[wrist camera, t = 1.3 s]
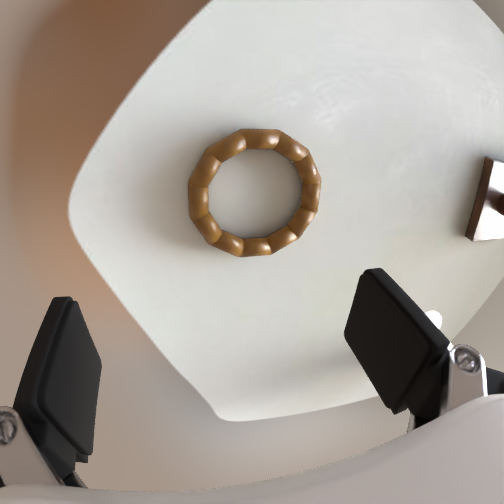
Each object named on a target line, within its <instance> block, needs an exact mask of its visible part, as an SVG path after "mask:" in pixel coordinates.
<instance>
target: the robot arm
mask: <svg viewBox="0 0 504 504" xmlns="http://www.w3.org/2000/svg"><path fill="white" fill-rule="evenodd" d="M344 337H345V340H346V341H347V343H348V345H349V346H350V348H351V349H352V351H353V353H354V354H355V356H356V358H357V359H358V361H359V363H360V364H361V366H362V367H363V369H364V371H365V372H366V374H367V376H368V377H369V379H370V381H371V382H372V384H373V386H374V387H375V389H376V391H377V392H378V394H379V396H380V397H381V399H382V401H383V402H384V404H385V406H386V407H387V408H389V409H391V410H392V412H393V413H394V415H395V414H397V413H400V412H402V411H404V410H406V409H407V408H408V409H409V410H410V418H409V423H408V428H407V433H406V434H404V435H402V436H400V437H398V438H395V439H393V440H391V441H389V442H386V443H384V444H382V445H379V446H377V447H374V448H372V449H369V450H367V451H364V452H362V453H359V454H357V455H354V456H351V457H348V458H345V459H342V460H339V461H336V462H333V463H330V464H327V465H324V466H320V467H317V468H314V469H310V470H307V471H303V472H299V473H295V474H291V475H287V476H283V477H279V478H274V479H269V480H264V481H259V482H253V483H247V484H241V485H235V486H227V487H220V488H211V489H200V490H188V491H164V492H137V491H111V490H97V489H88V488H87V486H86V485H85V484H84V483H83V481H82V480H81V479H80V477H79V476H78V475H77V473H76V472H75V462H83V463H88V455H91V454H92V452H93V439H94V425H95V415H96V405H97V398H98V390H99V389H98V388H99V382H100V375H101V368H102V364H101V359H100V357H99V354H98V352H97V350H96V348H95V345H94V343H93V340H92V338H91V336H90V333H89V331H88V328H87V326H86V323H85V321H84V318H83V315H82V313H81V310H80V308H79V304H78V302H77V301H73V300H72V298H71V297H55V298H53V300H52V302H51V304H50V306H49V308H48V311H47V313H46V315H45V317H44V320H43V322H42V325H41V327H40V329H39V332H38V334H37V337H36V339H35V342H34V344H33V347H32V349H31V352H30V355H29V357H28V360H27V363H26V366H25V369H24V372H23V375H22V378H21V381H20V384H19V387H18V390H17V394H16V397H15V401H14V404H13V408H11V407H8V406H0V504H504V373H503V372H500V371H497V370H493V369H490V368H487V367H485V366H484V361H483V358H482V357H481V355H480V353H478V351H477V350H475V349H474V348H472V347H471V346H468V345H464V344H458V345H455V346H454V347H452V349H451V350H450V351H449V350H448V349H447V347H448V346H449V344H450V341H449V340H448V339H447V338H446V337H445V336H444V334H443V333H442V332H441V331H440V330H439V329H438V328H437V326H436V325H435V324H434V323H433V322H432V321H431V320H430V319H429V318H428V316H427V315H426V314H425V313H424V312H423V311H422V310H421V309H420V308H419V307H418V305H417V304H416V303H415V302H414V301H413V300H412V299H411V298H410V297H409V296H408V295H407V294H406V293H405V292H404V291H403V290H402V288H401V287H400V286H399V285H398V284H397V283H396V282H395V281H394V280H393V279H392V278H391V277H390V276H389V275H388V274H387V273H386V272H385V271H384V270H383V269H381V268H375V269H367V270H365V271H364V273H363V274H362V275H361V276H360V278H359V282H358V285H357V289H356V293H355V296H354V300H353V303H352V307H351V310H350V314H349V317H348V320H347V324H346V327H345V330H344Z"/></svg>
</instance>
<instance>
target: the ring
mask: <svg viewBox="0 0 504 504" xmlns="http://www.w3.org/2000/svg"><path fill="white" fill-rule="evenodd" d="M245 149H273V150H275V151H276V152H278V153H280V154H281V155H283V156H285V157H286V158H288V159H289V160H291V161H292V162H293V163H294V165H295V167H296V169H297V171H298V174H299V176H300V178H301V180H302V182H303V183H302V193H301V202H300V206H299V208H298V209H297V211H296V212H295V214H294V215H293V217H292V218H291V220H290V221H289V223H288V224H287V225H286V226H284V227H283V228H281V229H279V230H277V231H276V232H274V233H272V234H271V235H269V236H267V237H263V238H249V239H241V238H239V237H237V236H234V235H232V234H230V233H228V232H226V231H223V230H221V228H220V227H219V225H218V224H217V222H216V221H215V220H214V218H213V217H212V215H211V214H210V212H209V206H208V186H209V184H210V182H211V181H212V179H213V177H214V175H215V174H216V172H217V170H218V169H219V167H220V165H221V164H222V163H223V162H224V161H226V160H228V159H230V158H231V157H233V156H235V155H236V154H238V153H240V152H242V151H244V150H245ZM320 188H321V177H320V175H319V173H318V170H317V168H316V166H315V163H314V161H313V159H312V157H311V154H310V152H309V150H308V149H307V148H306V147H304V146H303V145H301V144H300V143H298V142H297V141H295V140H294V139H292V138H291V137H289V136H288V135H286V134H285V133H283V132H282V131H280V130H276V129H240V130H238V131H236V132H234V133H232V134H231V135H229V136H227V137H225V138H223V139H222V140H220V141H218V142H217V143H215V144H213V145H211V146H210V147H208V148H207V149H206V150H205V152H204V154H203V155H202V157H201V159H200V161H199V162H198V164H197V166H196V168H195V169H194V171H193V173H192V175H191V177H190V178H189V181H188V200H189V216H190V219H191V220H192V222H193V223H194V225H195V226H196V227H197V229H198V230H199V232H200V233H201V234H202V236H203V237H204V239H205V240H206V241H207V243H208V244H209V245H211V246H213V247H216V248H218V249H220V250H223V251H225V252H227V253H230V254H232V255H234V256H237V257H249V256H261V255H271V254H273V253H275V252H277V251H278V250H280V249H282V248H283V247H285V246H287V245H289V244H290V243H292V242H294V241H295V240H297V239H299V238H300V236H301V235H302V233H303V232H304V231H305V229H306V228H307V226H308V225H309V223H310V222H311V220H312V219H313V218H314V216H315V215H316V213H317V211H318V204H319V196H320Z"/></svg>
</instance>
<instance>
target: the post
mask: <svg viewBox="0 0 504 504" xmlns="http://www.w3.org/2000/svg"><path fill="white" fill-rule="evenodd" d="M465 236H466V237H467V238H468V239H470V240H471V241H478V240H487V239H496V238H504V162H501V161H498V160H495V159H491V158H488V157H485V163H484V167H483V172H482V177H481V181H480V185H479V189H478V193H477V197H476V201H475V205H474V208H473V212H472V215H471V219H470V222H469V225H468V228H467V232H466V235H465Z"/></svg>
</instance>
